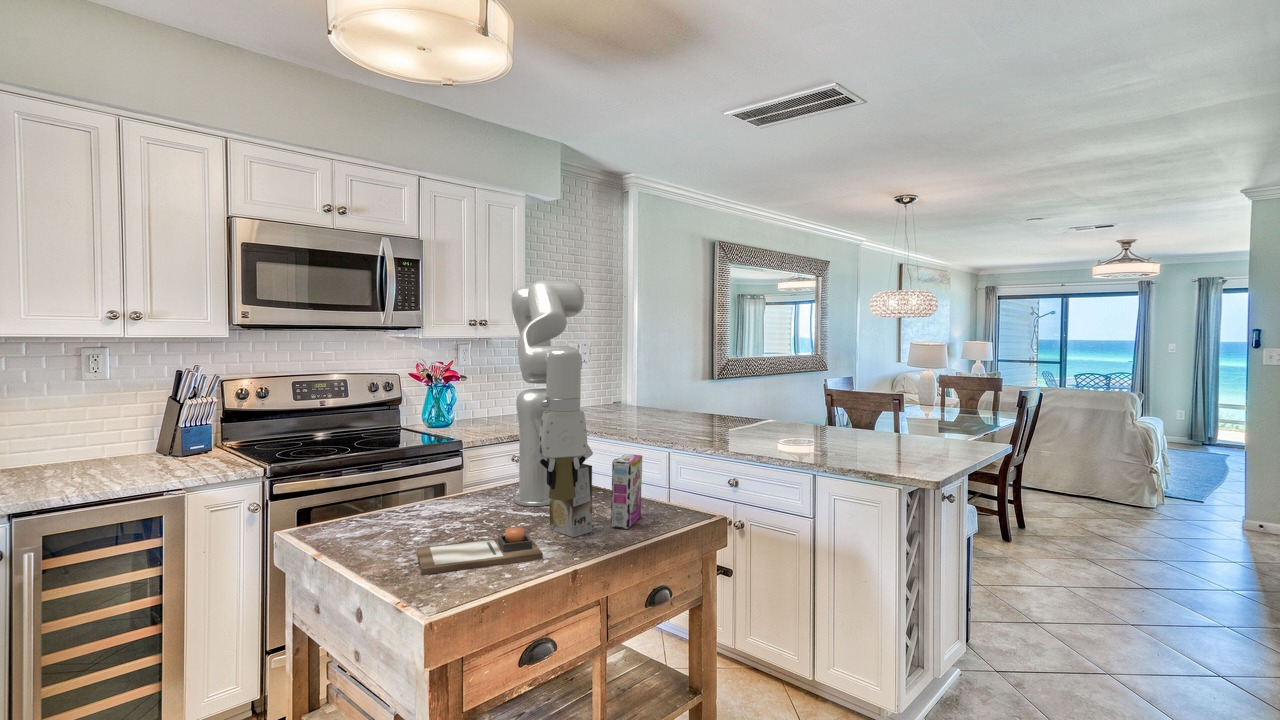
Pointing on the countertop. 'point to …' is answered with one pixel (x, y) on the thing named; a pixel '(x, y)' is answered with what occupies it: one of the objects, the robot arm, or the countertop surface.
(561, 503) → the coffee box
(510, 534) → the button
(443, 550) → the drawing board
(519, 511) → the countertop surface
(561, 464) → the olive pawn
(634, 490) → the candy bar box
